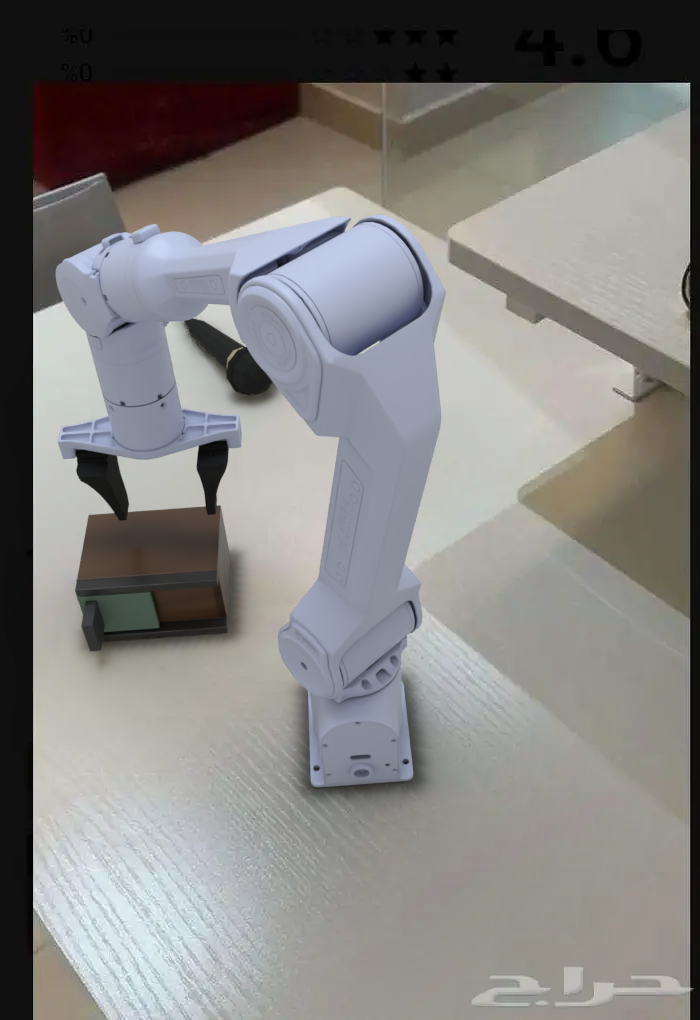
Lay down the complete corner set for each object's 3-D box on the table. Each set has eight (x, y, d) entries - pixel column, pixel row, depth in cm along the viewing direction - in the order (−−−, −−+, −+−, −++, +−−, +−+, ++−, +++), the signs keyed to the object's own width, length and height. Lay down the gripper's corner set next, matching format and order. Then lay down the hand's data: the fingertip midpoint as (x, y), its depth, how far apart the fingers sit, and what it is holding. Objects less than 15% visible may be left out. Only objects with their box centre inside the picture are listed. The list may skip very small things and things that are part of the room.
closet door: (157, 653, 91) (146, 617, 88) (85, 658, 91) (72, 622, 88) (160, 623, 94) (150, 587, 90) (90, 628, 94) (77, 592, 90)
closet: (227, 633, 94) (216, 580, 89) (92, 642, 94) (74, 590, 89) (230, 557, 100) (220, 504, 96) (104, 567, 100) (88, 514, 95)
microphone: (177, 348, 131) (255, 413, 117) (154, 313, 127) (231, 376, 113) (212, 321, 131) (292, 383, 117) (190, 286, 127) (271, 345, 113)
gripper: (233, 347, 85) (252, 473, 94) (53, 359, 85) (90, 483, 94) (230, 402, 80) (250, 529, 89) (38, 415, 80) (79, 540, 89)
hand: (168, 509), depth 91 cm, fingers open, 7 cm apart
